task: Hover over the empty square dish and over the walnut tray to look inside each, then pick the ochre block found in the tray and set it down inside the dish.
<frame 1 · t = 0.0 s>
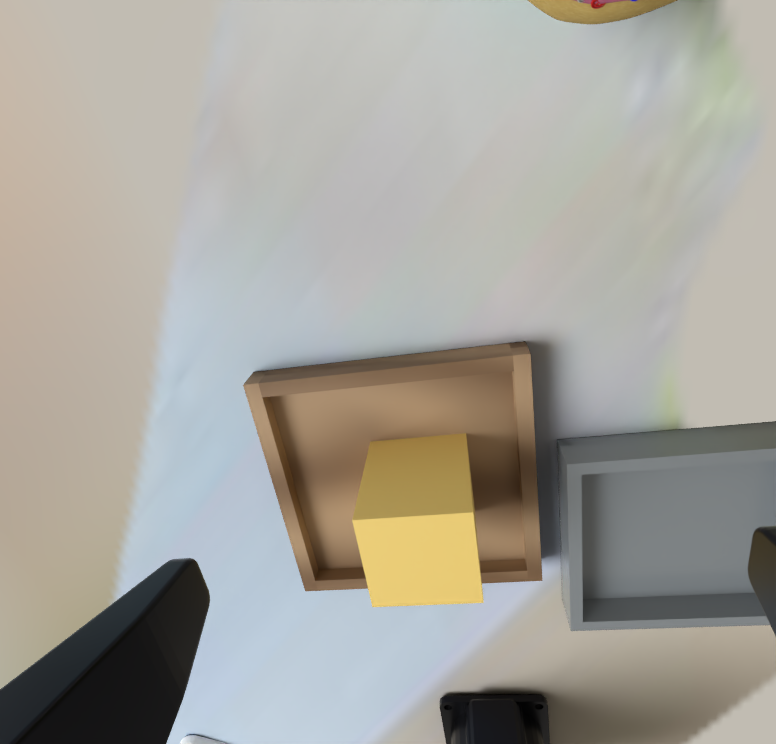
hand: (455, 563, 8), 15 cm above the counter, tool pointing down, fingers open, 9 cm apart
tray: (404, 471, 25), on the counter
dish: (667, 519, 25), on the counter
block: (423, 477, 25), point 1 cm above the counter, touching tray
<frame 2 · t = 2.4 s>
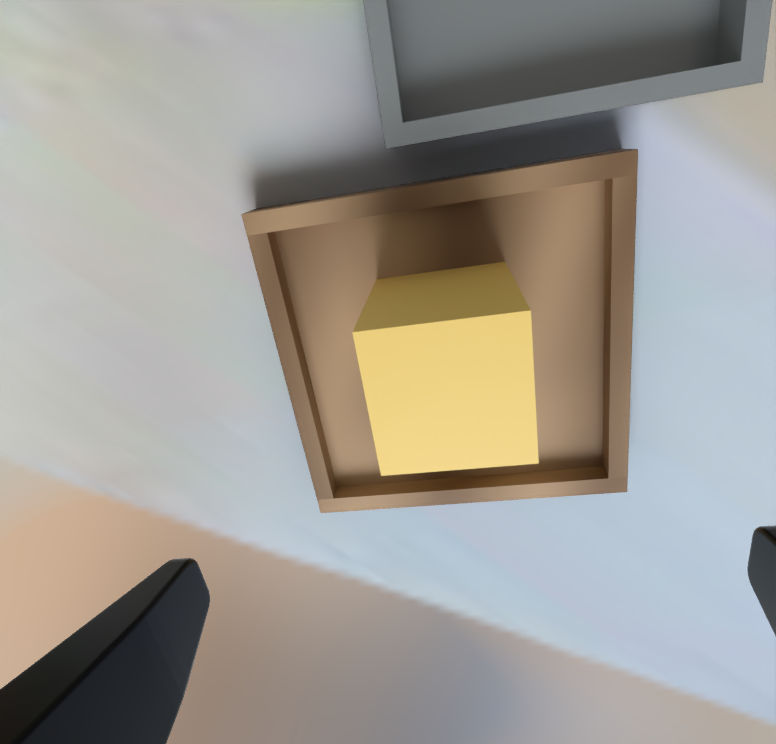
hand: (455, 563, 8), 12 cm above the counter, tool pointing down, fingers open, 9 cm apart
tray: (449, 350, 20), on the counter
block: (446, 331, 19), point 1 cm above the counter, touching tray
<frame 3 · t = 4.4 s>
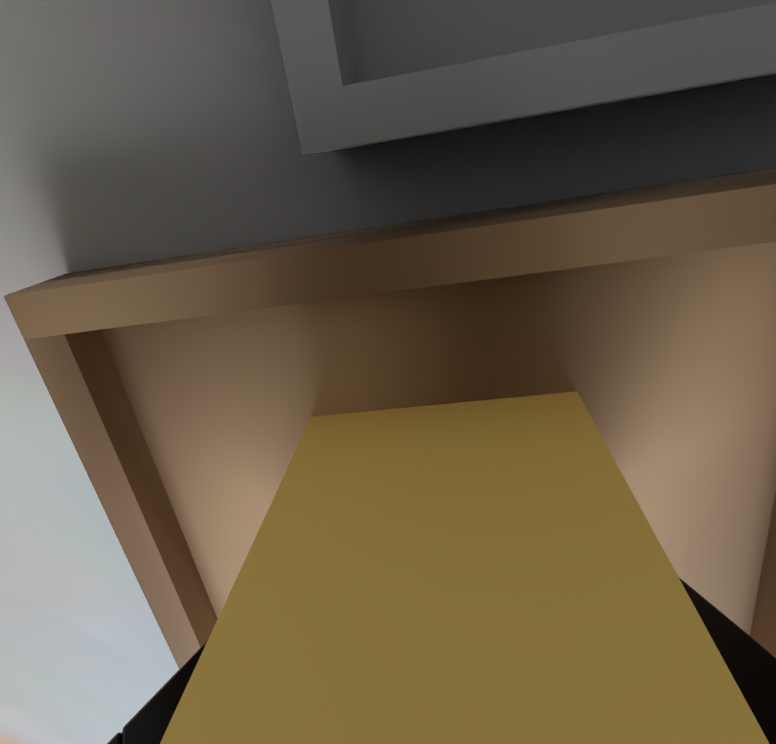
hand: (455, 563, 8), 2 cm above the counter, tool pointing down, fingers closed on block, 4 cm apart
tray: (457, 530, 10), on the counter
block: (453, 510, 10), point 1 cm above the counter, touching gripper, tray
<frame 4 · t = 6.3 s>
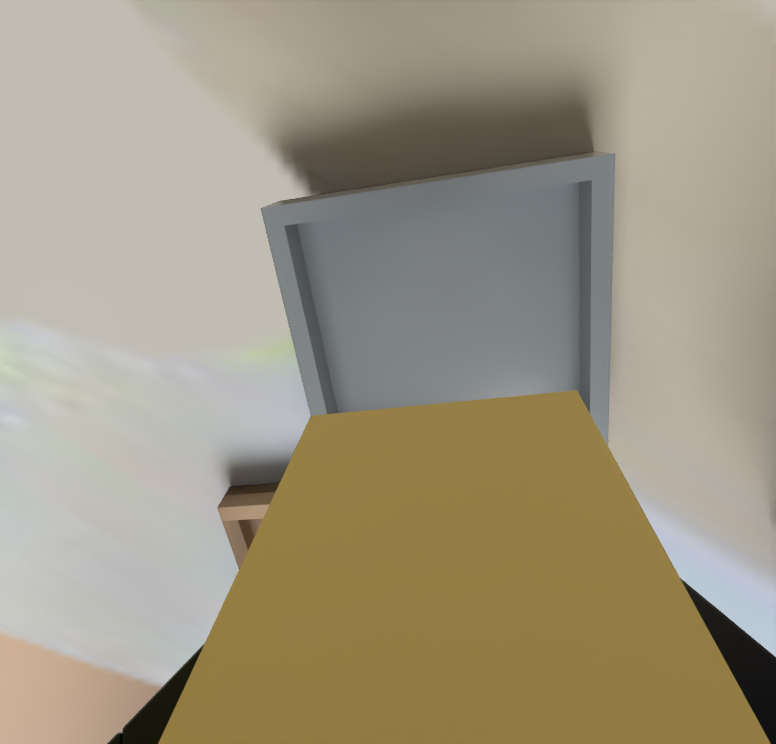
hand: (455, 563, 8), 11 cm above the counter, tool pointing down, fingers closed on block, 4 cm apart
tray: (389, 585, 24), on the counter
dish: (446, 326, 19), on the counter
block: (452, 509, 10), point 10 cm above the counter, touching gripper
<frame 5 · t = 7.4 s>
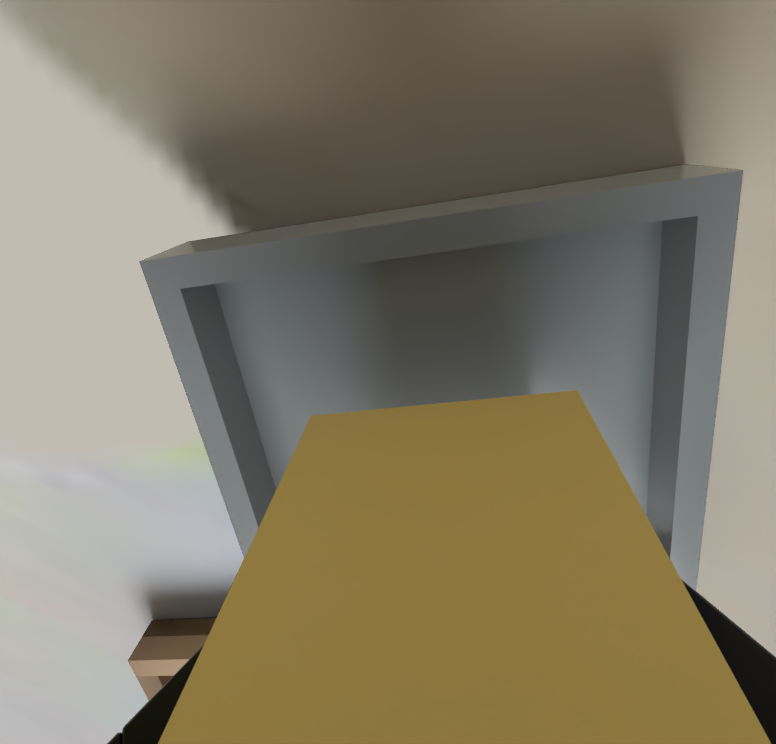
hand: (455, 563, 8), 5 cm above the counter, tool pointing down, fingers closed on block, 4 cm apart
tray: (372, 739, 18), on the counter
dish: (446, 421, 12), on the counter
block: (453, 509, 10), point 3 cm above the counter, touching gripper
when the fingers open (3 cm above the counter, at t = 8.0 s): block drops 1 cm, resting on dish.
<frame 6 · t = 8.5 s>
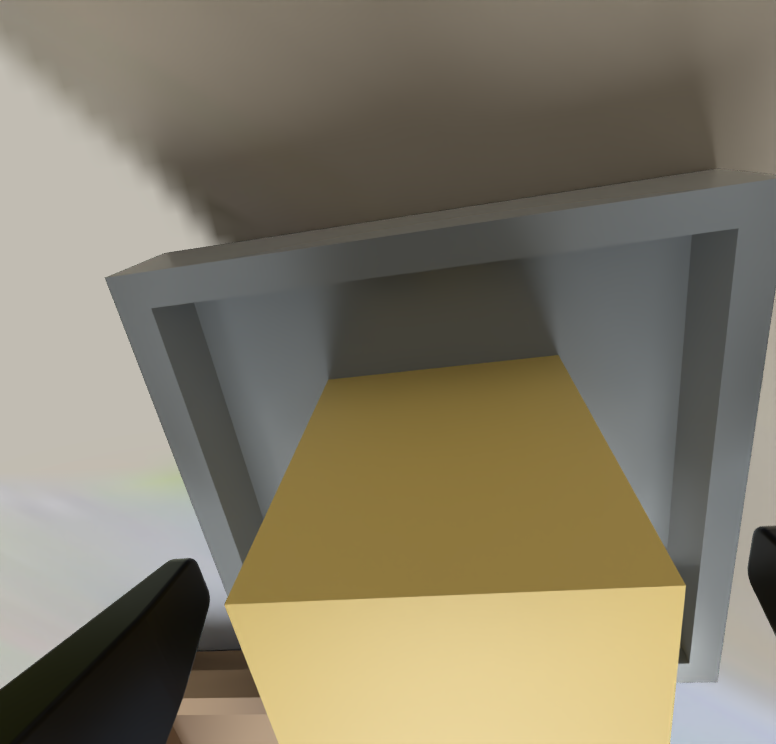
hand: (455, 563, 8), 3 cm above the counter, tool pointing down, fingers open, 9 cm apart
dish: (449, 448, 11), on the counter
block: (451, 463, 11), point 1 cm above the counter, touching dish
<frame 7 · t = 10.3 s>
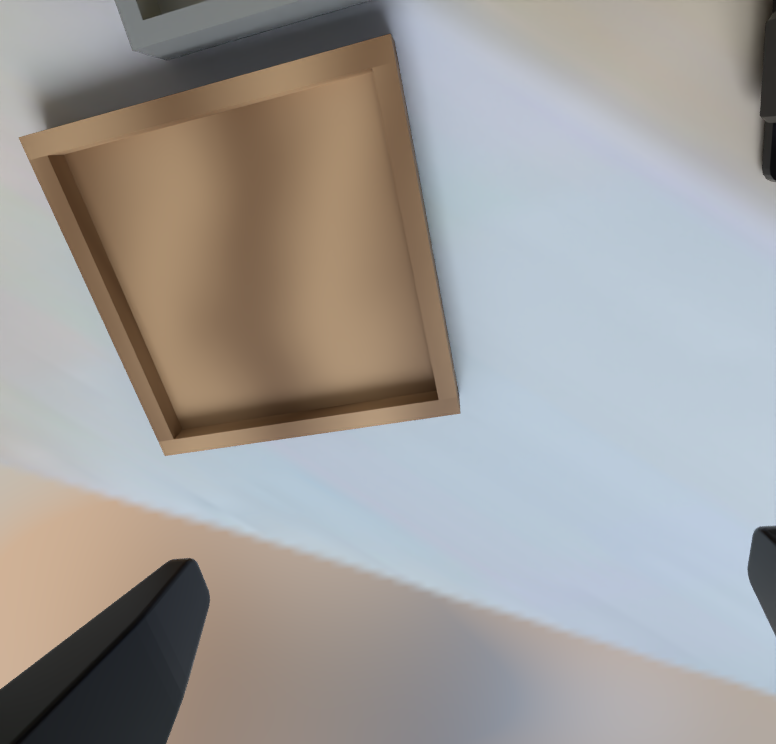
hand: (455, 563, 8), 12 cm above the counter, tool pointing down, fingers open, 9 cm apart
tray: (268, 276, 19), on the counter
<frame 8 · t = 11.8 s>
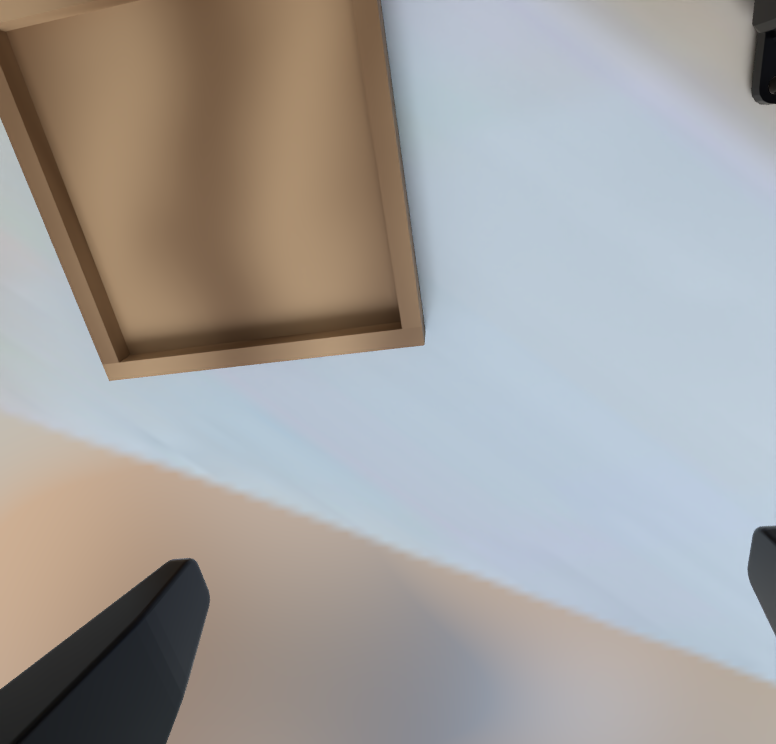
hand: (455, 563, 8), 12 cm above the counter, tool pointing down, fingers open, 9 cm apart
tray: (226, 186, 18), on the counter
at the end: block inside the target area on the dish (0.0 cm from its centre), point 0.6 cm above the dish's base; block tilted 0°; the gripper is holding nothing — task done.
